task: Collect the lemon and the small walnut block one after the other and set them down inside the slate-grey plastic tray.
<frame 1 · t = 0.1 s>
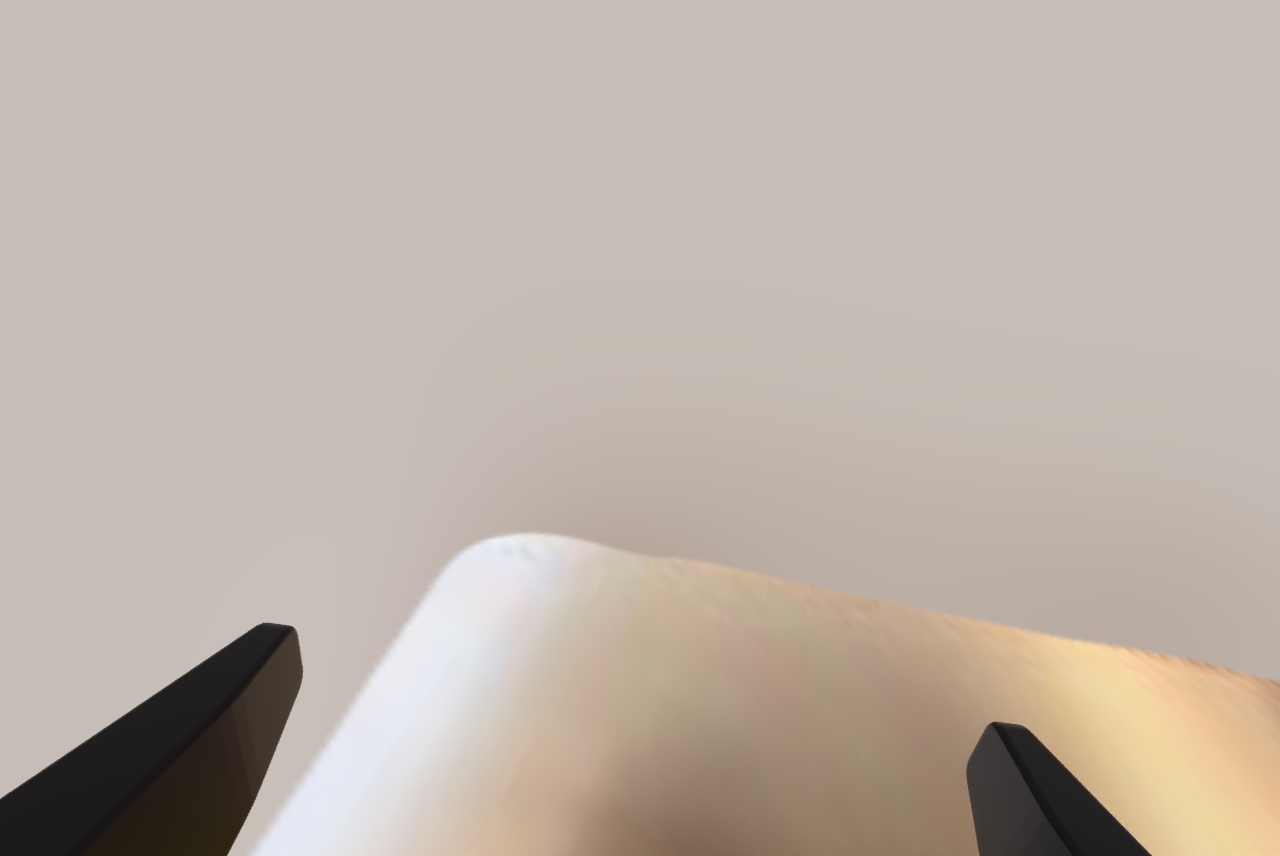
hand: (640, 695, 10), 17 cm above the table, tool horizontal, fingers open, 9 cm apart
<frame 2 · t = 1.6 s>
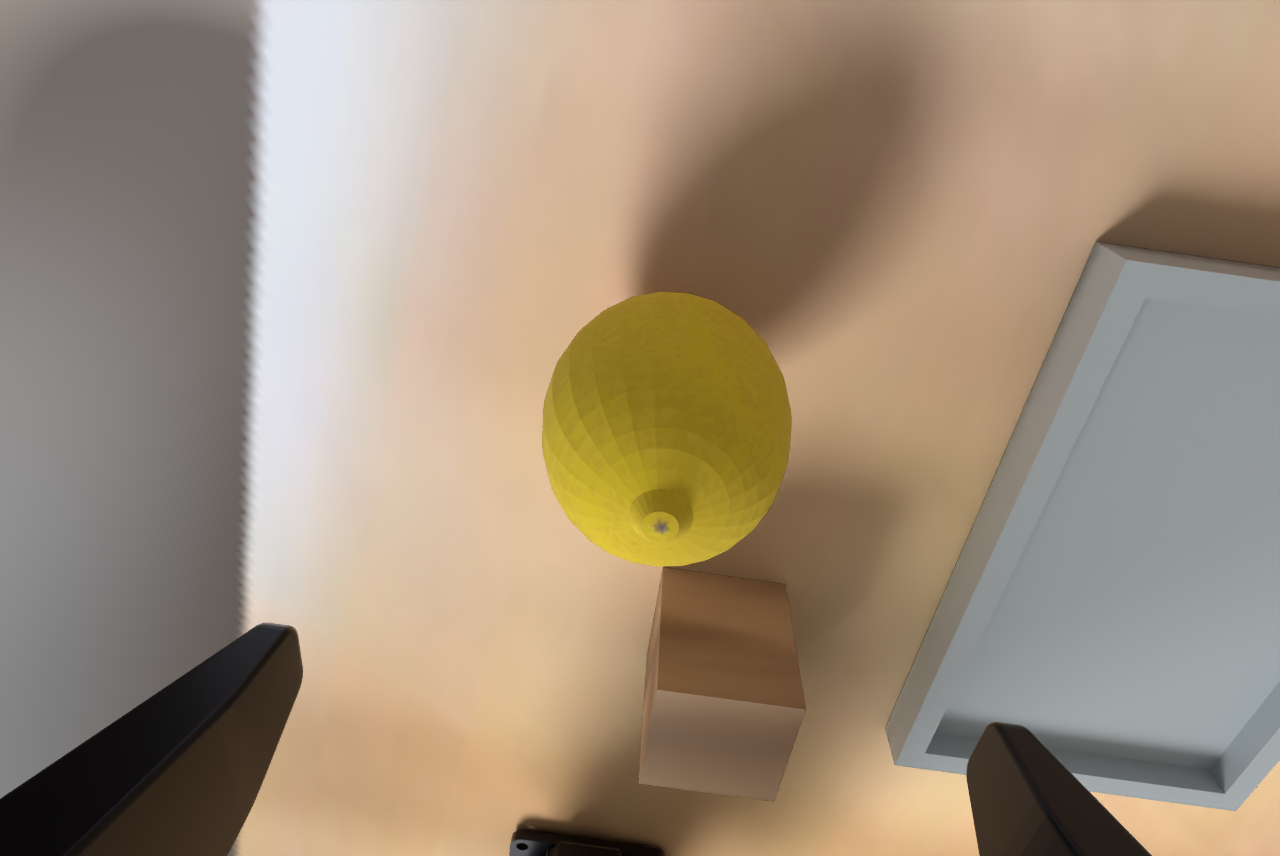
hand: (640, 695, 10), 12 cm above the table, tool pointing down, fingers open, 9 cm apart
tray: (1164, 559, 23), on the table
lemon: (670, 347, 21), on the table
walnut block: (713, 620, 25), on the table
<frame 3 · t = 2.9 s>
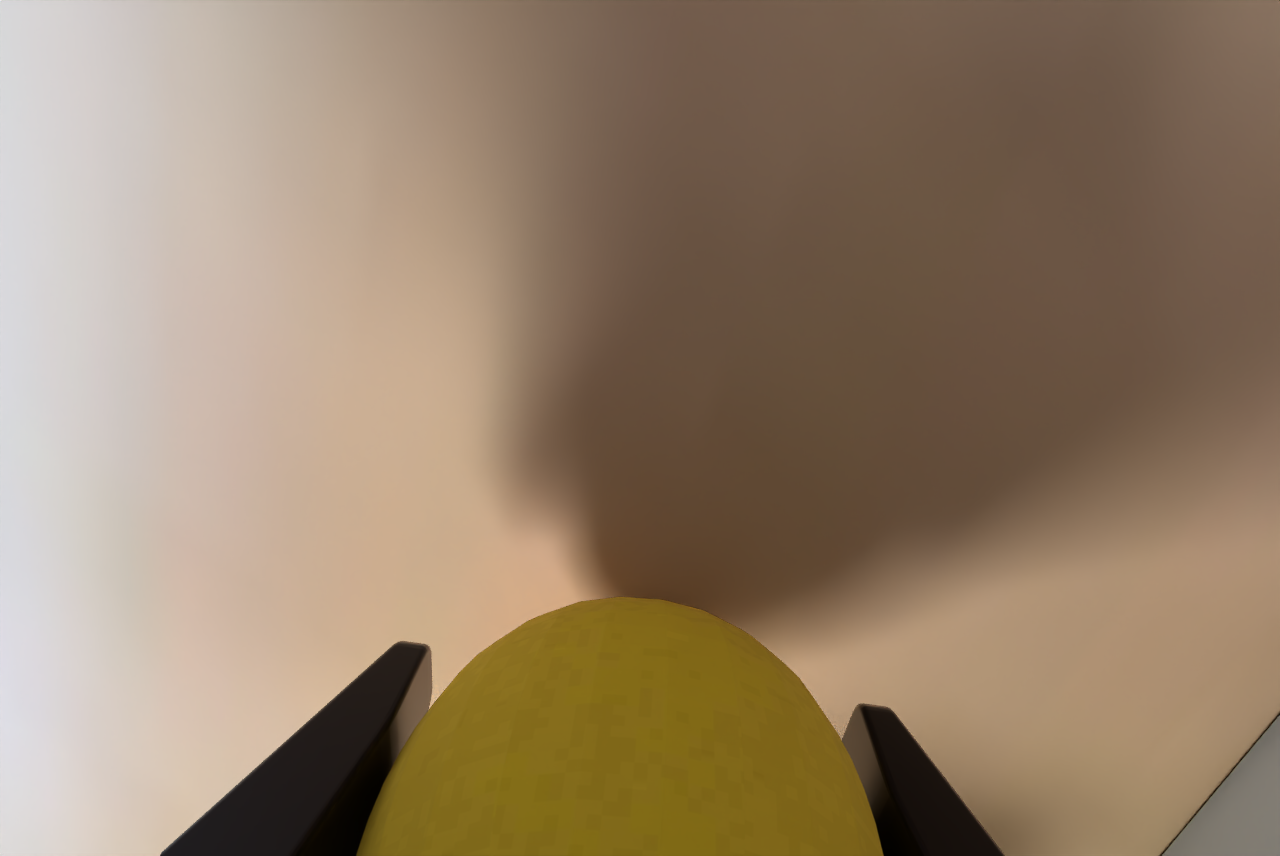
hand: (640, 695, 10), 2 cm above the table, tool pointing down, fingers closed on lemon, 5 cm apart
lemon: (644, 616, 11), on the table, touching gripper
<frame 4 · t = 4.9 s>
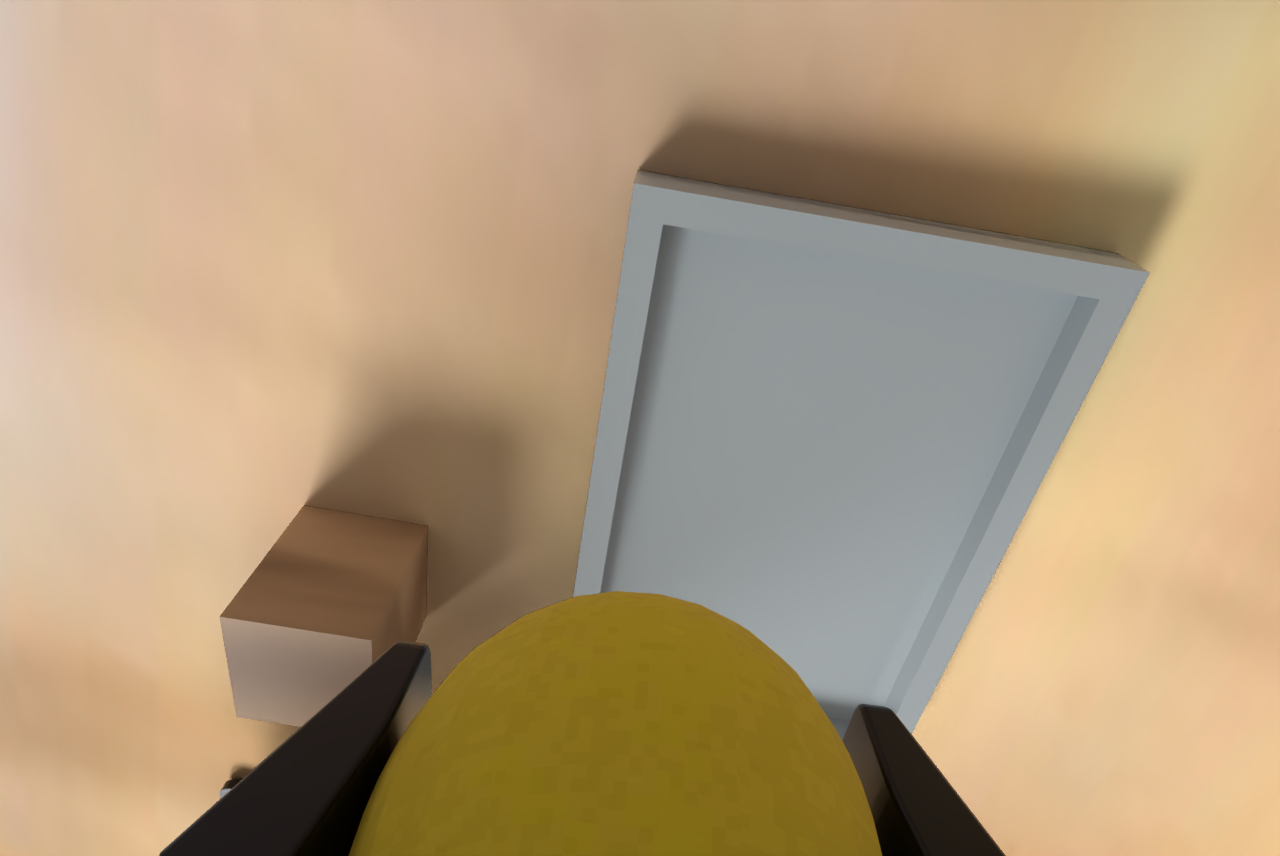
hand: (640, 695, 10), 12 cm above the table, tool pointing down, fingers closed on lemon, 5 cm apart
tray: (787, 506, 23), on the table
lemon: (641, 611, 11), point 10 cm above the table, touching gripper
walnut block: (367, 562, 25), on the table
when the fingers open (4 cm above the table, at t = 7.1 s): lemon drops 2 cm, resting on tray.
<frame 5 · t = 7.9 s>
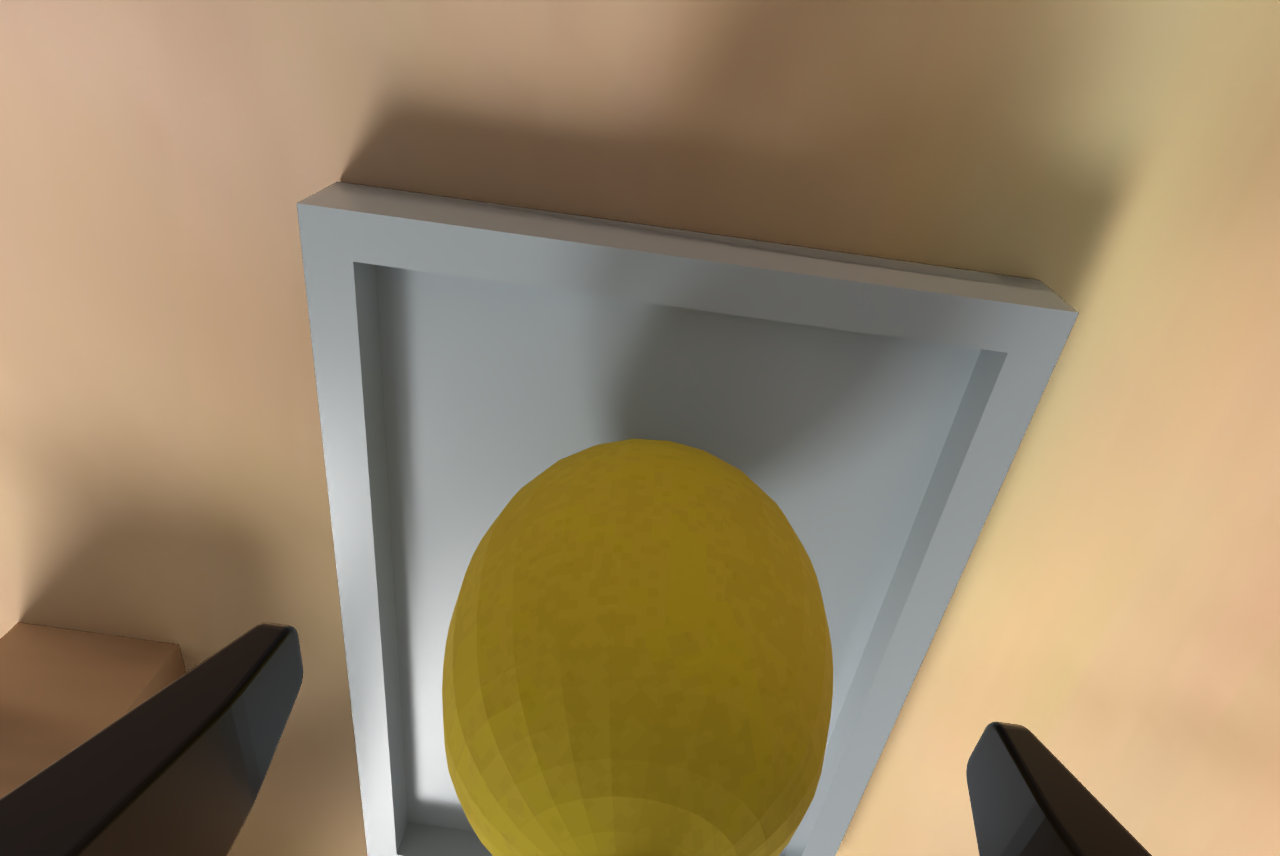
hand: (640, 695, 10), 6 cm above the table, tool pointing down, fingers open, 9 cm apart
tray: (628, 617, 17), on the table
lemon: (650, 480, 15), resting on tray
walnut block: (117, 686, 20), on the table
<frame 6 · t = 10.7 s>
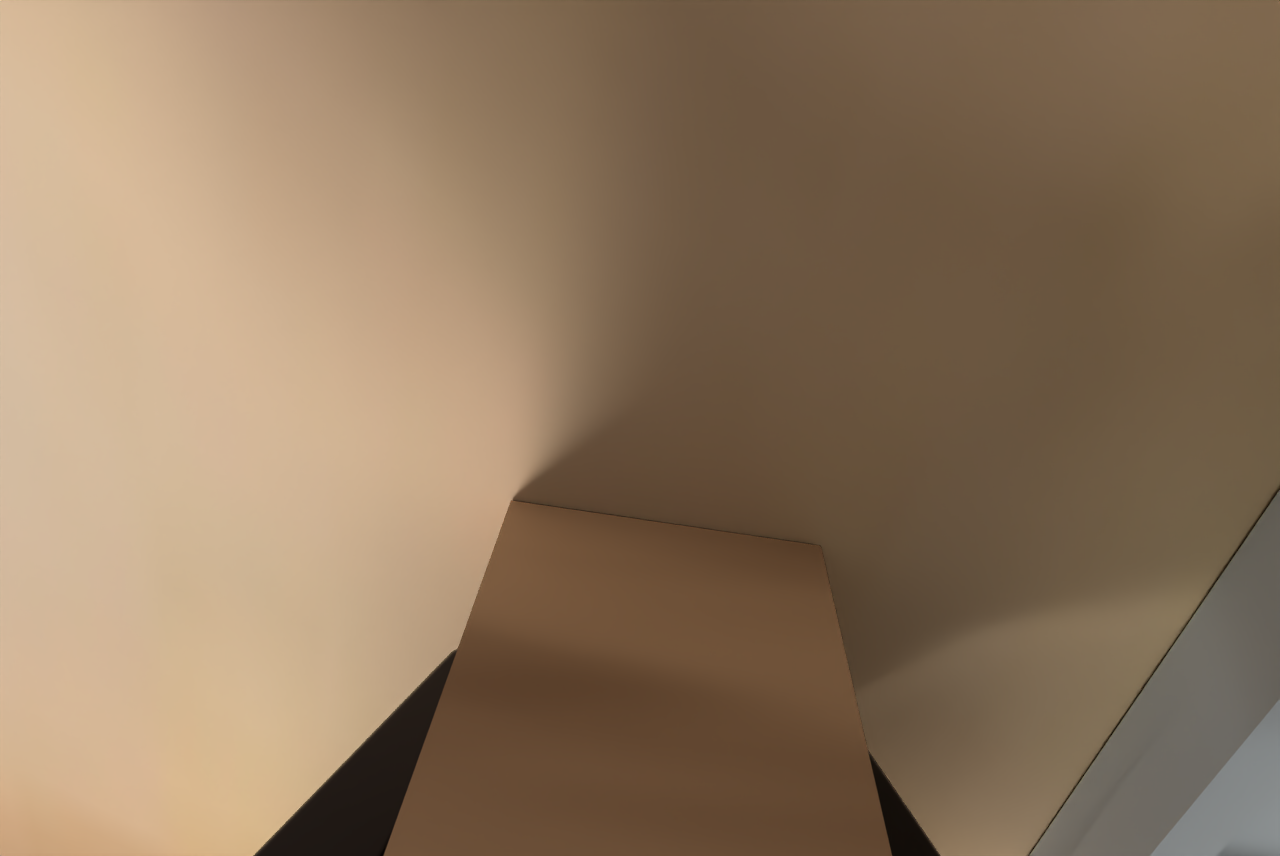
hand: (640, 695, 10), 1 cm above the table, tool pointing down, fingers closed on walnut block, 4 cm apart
walnut block: (645, 634, 11), on the table, touching gripper
when the fingers open (3 cm above the table, at t = 14.5 s): walnut block drops 2 cm, resting on tray.
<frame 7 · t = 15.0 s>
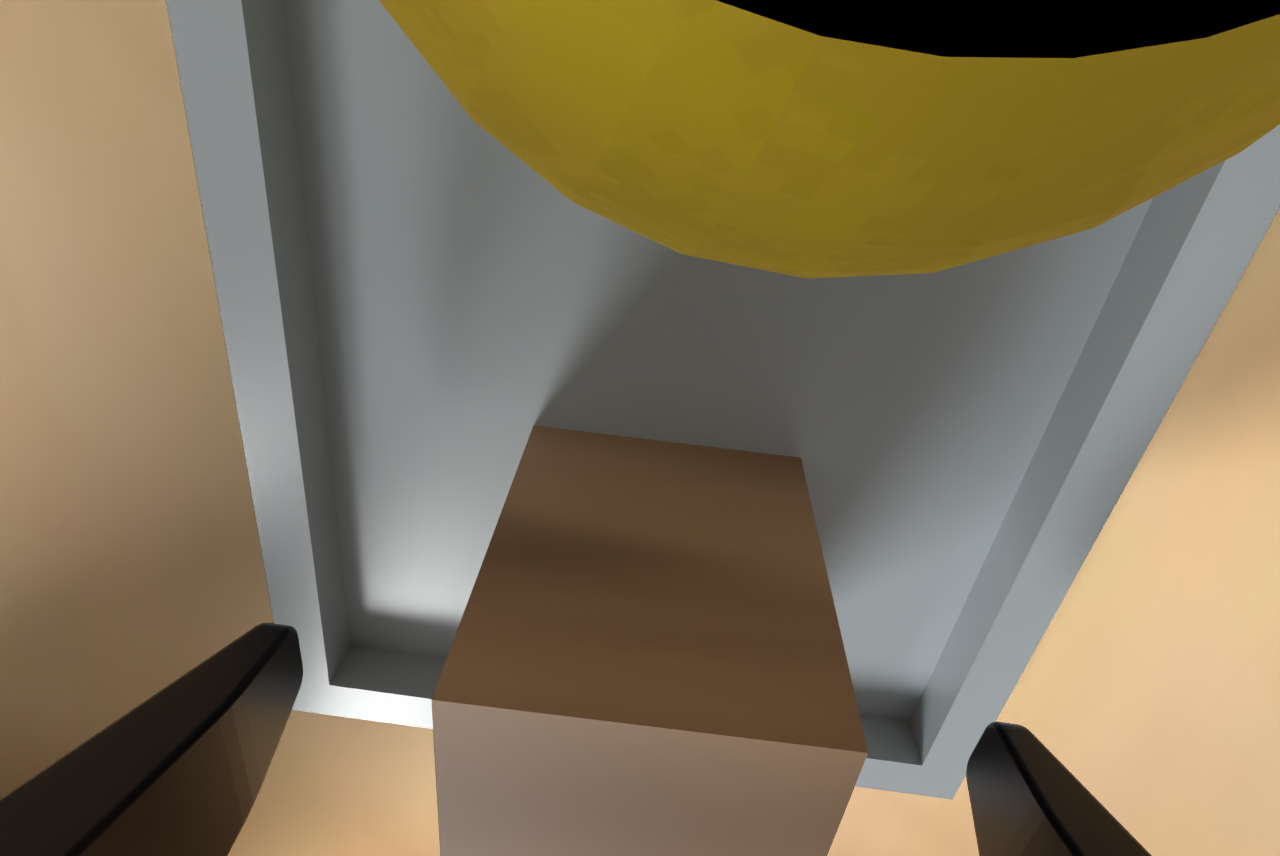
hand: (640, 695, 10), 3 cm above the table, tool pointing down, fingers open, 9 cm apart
tray: (704, 237, 10), on the table
walnut block: (652, 546, 12), point 1 cm above the table, touching tray
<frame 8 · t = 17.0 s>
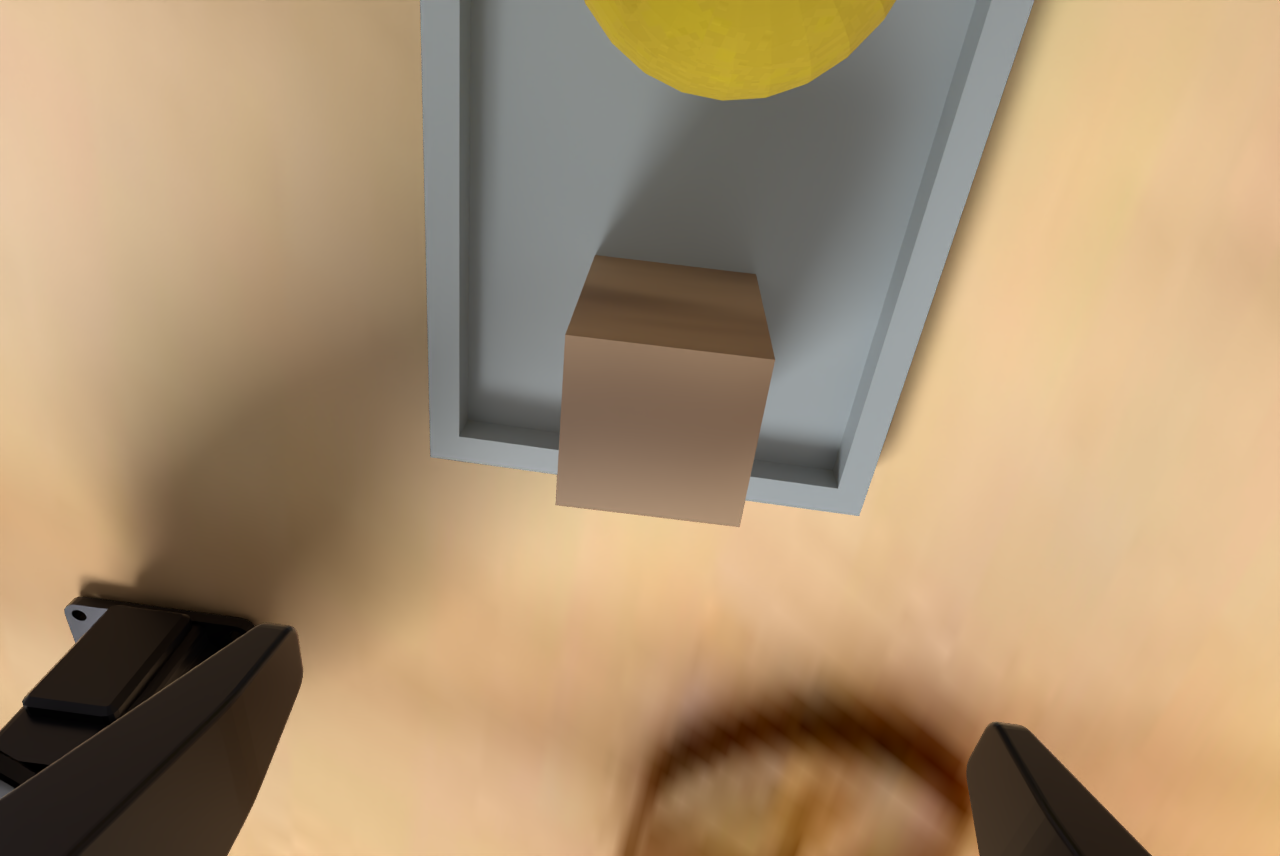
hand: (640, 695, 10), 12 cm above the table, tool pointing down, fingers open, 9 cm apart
tray: (697, 136, 18), on the table
walnut block: (665, 338, 19), point 1 cm above the table, touching tray
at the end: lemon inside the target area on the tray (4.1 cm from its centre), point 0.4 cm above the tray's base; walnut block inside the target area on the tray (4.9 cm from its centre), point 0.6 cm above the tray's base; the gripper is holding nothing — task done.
